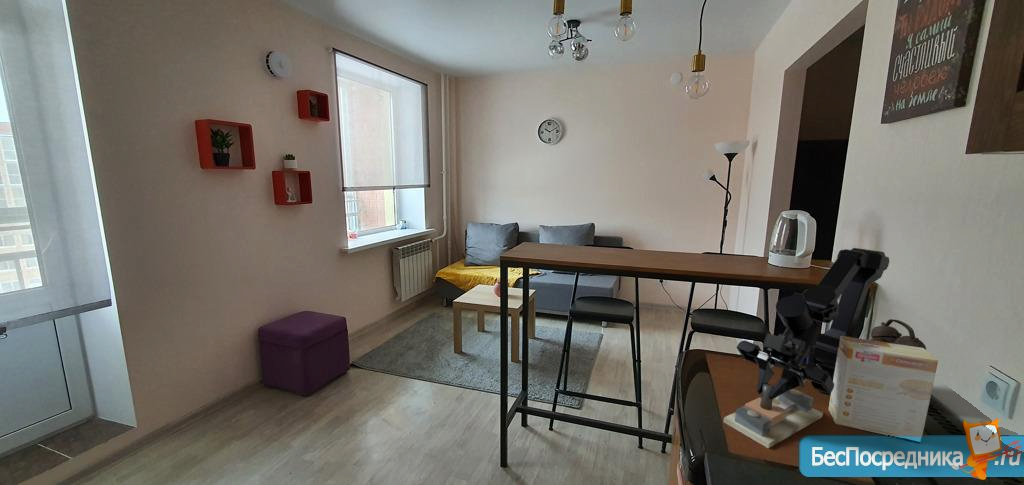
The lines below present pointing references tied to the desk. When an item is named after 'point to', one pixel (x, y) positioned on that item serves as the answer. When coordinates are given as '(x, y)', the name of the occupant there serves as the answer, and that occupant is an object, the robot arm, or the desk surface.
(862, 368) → the coffeecake box
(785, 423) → the rail track
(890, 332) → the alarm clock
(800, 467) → the desk surface
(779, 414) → the carriage
